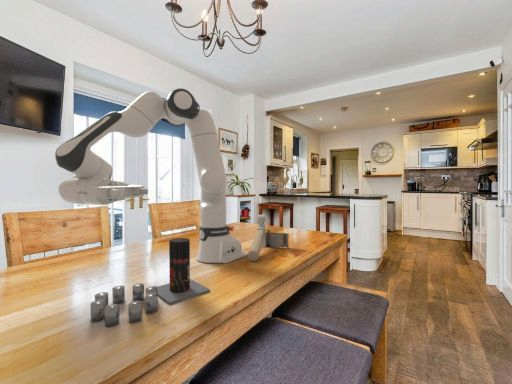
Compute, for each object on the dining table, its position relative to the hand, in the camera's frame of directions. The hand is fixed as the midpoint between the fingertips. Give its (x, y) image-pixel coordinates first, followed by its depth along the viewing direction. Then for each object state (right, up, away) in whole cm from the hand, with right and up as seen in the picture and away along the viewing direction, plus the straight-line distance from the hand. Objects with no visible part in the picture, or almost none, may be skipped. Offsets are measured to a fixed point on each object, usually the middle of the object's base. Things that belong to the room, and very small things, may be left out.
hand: (136, 192), depth 85 cm
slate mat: (+15, -30, -4) cm, 34 cm away
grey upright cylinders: (+5, -30, -16) cm, 35 cm away
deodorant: (+15, -30, -4) cm, 34 cm away
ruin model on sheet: (+49, -29, +51) cm, 76 cm away
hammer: (+39, -29, +40) cm, 63 cm away
